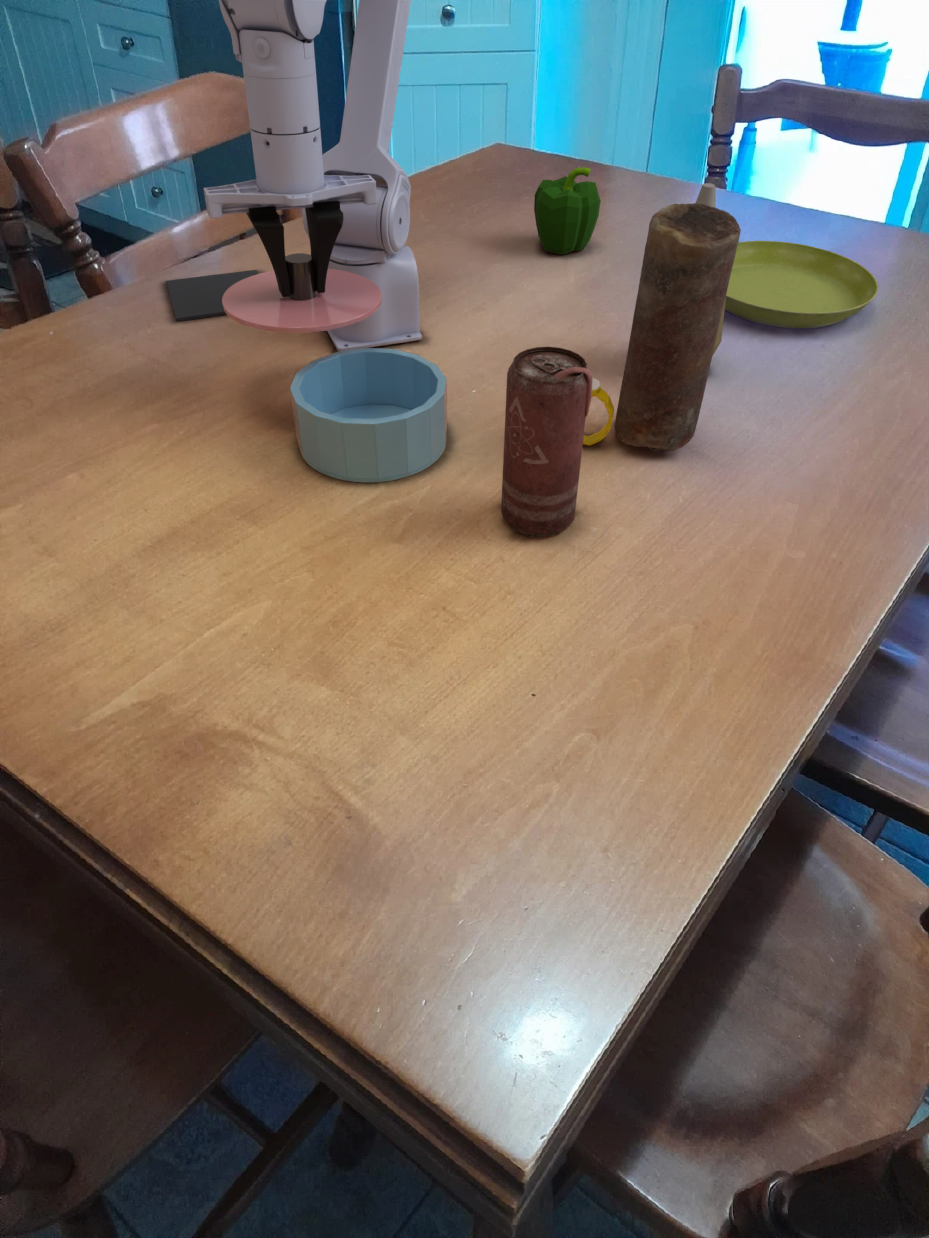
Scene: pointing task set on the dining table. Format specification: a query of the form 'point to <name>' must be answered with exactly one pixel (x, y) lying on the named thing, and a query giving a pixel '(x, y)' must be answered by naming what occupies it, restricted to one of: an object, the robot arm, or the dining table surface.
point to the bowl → (370, 414)
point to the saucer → (796, 285)
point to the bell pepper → (566, 212)
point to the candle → (675, 324)
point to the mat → (202, 294)
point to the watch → (610, 409)
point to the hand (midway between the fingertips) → (301, 291)
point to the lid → (302, 299)
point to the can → (544, 439)
